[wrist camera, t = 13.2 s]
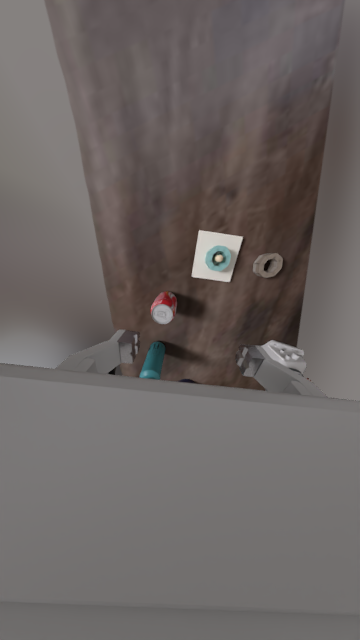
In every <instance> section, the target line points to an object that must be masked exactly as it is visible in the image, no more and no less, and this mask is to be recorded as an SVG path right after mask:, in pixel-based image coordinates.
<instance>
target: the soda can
mask: <svg viewBox="0 0 360 640" xmlns="http://www.w3.org/2000/svg"><path fill="white" fill-rule="evenodd" d="M176 308H177V299H176V297H175V295H174V294H173V293H171V292H168V291H166V292H162V293H161V294H159V295H158V297H157V298H156V299H155V301H154V303H153V305H152V307H151V315H152V318H153V319H154V321H156V322H157V323H160V324H166V323H169V322H170V321H171V320H172V319H173V318H174V317H175V314H176Z"/></svg>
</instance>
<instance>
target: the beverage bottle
mask: <svg viewBox="0 0 360 640" xmlns="http://www.w3.org/2000/svg"><path fill="white" fill-rule="evenodd" d="M164 353H165V346H164V344H162V343H161V342H154V343H152V344H151V346H150V348H149V350H148V354H147V355H146V360H145V362H144V365H143V368H142V371H141V373H140V378H147V379H156V380H160V374H161V368H162V363H163V359H164V355H165V354H164Z"/></svg>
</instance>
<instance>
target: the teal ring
mask: <svg viewBox="0 0 360 640" xmlns="http://www.w3.org/2000/svg"><path fill="white" fill-rule="evenodd" d="M216 252H220V253H221V255H222V256H223V260H222V261H221V263H220V264H218V265H217V266H215V265H214V264H213V263H212V257H213V254H214V253H216ZM230 255H231V254H230V252H229V250H228V248H227V247H226V246H219V245H217V246H214V247H213V248H211V249H210V250H209V251H208V252H207V253H206V258H205V261H206V262H205V263H206V265H207V266H208V268H209V269H210V270H214V271H222V270H223V269H224V268H226V267H227V266H228V265H229V262H230V258H231V256H230Z"/></svg>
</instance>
